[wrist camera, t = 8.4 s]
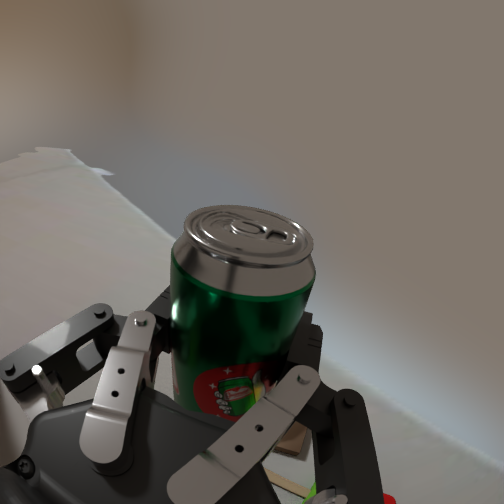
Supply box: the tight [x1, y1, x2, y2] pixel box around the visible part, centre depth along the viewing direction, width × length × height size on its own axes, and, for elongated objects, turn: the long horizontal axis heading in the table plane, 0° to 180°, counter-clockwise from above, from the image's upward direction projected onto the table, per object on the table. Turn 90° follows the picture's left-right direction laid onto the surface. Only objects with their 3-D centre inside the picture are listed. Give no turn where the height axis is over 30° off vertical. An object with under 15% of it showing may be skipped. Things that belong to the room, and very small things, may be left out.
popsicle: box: [264, 468, 396, 504], centre depth 17 cm, size 6×15×2 cm, turn 58°
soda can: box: [170, 205, 316, 422], centre depth 12 cm, size 5×5×12 cm
